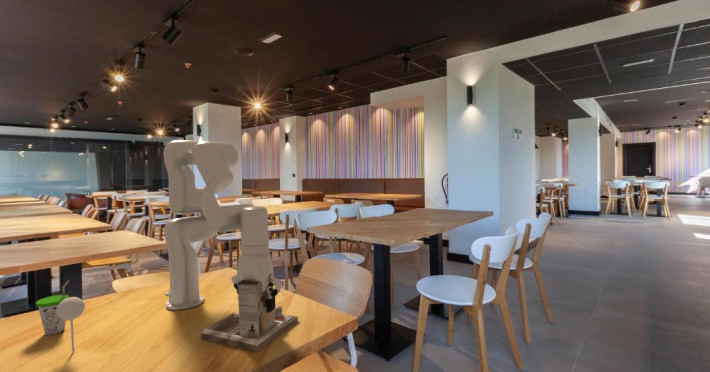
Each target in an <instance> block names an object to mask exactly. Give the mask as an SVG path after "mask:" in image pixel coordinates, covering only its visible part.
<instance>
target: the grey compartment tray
mask: <svg viewBox="0 0 710 372" xmlns="http://www.w3.org/2000/svg"><path fill="white" fill-rule="evenodd" d="M298 322H299V317H298V315H297V316H296V315H291V314H284V313H283V307H282V306H281V305H277V306H276V305H275V309H274V327H273V328H272V329H271V330H269V331H268V332H267V333H265V334H264V335H262V336H261V337H259V338H258V339H257V340H256V339H252V338H247V337H243V336H240V328H239V327H240V326H239V312H232V313H230V314H228V315H226V316H224V317H222V318H220V319H219V320H217V321H215V322H213V323H211V324H209V325H208V326H206V327H204V328H202V329H201V333H200V339H201V340H203V341H208V342H211V343H217V344H219V345H220V344H221V345H224V346H229V347H233V348H237V349H242V350H245V351H246V350H247V351H250V352H255V353H258V352H260V351H261V350H262V349H263V348H264V347H266V346H268V345H269V344H270V343H271V342H273V340H275V339H276V338H278V337H279V336H281V334H283V333H284V332H286V331H287V330H289V329H290V328H291V327H292V326H294V325H295V324H296V323H298Z"/></svg>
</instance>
